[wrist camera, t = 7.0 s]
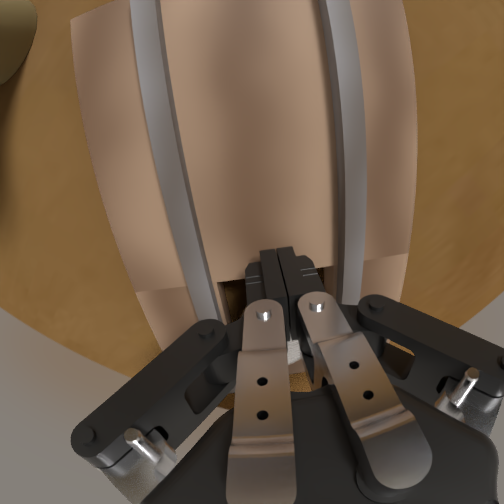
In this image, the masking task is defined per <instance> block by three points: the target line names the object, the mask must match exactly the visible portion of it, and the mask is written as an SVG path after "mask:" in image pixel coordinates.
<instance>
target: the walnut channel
mask: <svg viewBox="0 0 504 504" xmlns="http://www.w3.org/2000/svg"><path fill="white" fill-rule="evenodd" d="M70 21H71V38H72V51H73V61H74V69H75V77H76V84H77V91H78V97H79V103H80V109H81V114H82V120H83V125H84V130H85V134H86V139H87V144H88V148H89V152H90V156H91V160H92V164H93V168H94V172H95V176H96V180H97V183H98V187H99V190H100V194H101V197H102V201H103V204H104V207H105V210H106V214H107V217H108V220H109V223H110V226H111V229H112V232H113V235H114V238H115V241H116V243H117V246H118V249H119V252H120V255H121V257H122V260H123V263H124V265H125V268H126V270H127V273H128V276H129V278H130V281H131V283H132V285H133V288H134V290H135V293H136V295H137V298H138V300H139V302H140V305H141V307H142V309H143V311H144V314H145V316H146V318H147V320H148V322H149V325H150V327H151V329H152V331H153V333H154V335H155V337H156V339H157V342H158V344H159V346H160V348H161V350H162V352H163V351H164V350H165V349H166V348H167V347H168V346H170V345H171V344H172V343H173V342H174V341H175V340H176V339H177V338H179V337H180V336H181V335H182V334H183V333H184V332H185V331H187V330H188V329H189V328H190V327H191V326H192V325H193V324H195V323H196V322H198V321H201V320H204V319H216V320H219V321H221V322H222V323H223V324H224V325H227V324H230V323H232V320H231V316H230V311H229V307H228V303H227V299H226V294H225V290H224V286H223V281H231V280H238V279H245V269H246V267H247V266H248V264H249V263H253V262H260V253H259V251H260V250H267V249H274V248H275V250H276V248H281V247H288V246H292V247H293V250H294V252H295V255H296V256H301V255H306V256H307V257H308V258H310V259H311V260H312V261H313V263H314V265H315V268H321V267H324V288H325V291H326V293H327V294H329V295H331V296H332V297H333V298H334V299H335V301H336V302H337V303H340V304H345V305H358V302H359V301H360V299H361V298H363V297H364V296H367V295H371V294H379V295H383V296H386V297H388V298H390V299H393V300H395V301H397V302H400V297H401V292H402V287H403V282H404V277H405V271H406V266H407V260H408V253H409V247H410V240H411V232H412V224H413V214H414V204H415V191H416V175H417V105H416V89H415V78H414V68H413V59H412V52H411V45H410V38H409V32H408V27H407V21H406V16H405V11H404V7H403V2H402V0H115V1H112V2H110V3H107V4H105V5H102V6H100V7H97V8H95V9H93V10H91V11H88V12H86V13H84V14H82V15H80V16H78V17H75V18H73V19H71V20H70ZM389 342H390V340H389V339H387V343H389ZM288 370H289V374H295V373H301V372H305V369H304V366H303V363H302V360H301V359H300V360H298V361H297V362H295V363H292V364H290V365H288ZM235 390H236V386H235V387H234V388H233V389H232V390H231V391H230V392H229V393H235Z"/></svg>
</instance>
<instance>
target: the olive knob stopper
mask: <svg viewBox="0 0 504 504" xmlns="http://www.w3.org/2000/svg"><path fill="white" fill-rule="evenodd" d="M36 26H37V13H36V9H35V6H34V5H33V4H32V3H31V2H30V1H28V0H0V85H1V84H3V83H5V82H6V81H7V80H8V79H9V78H10V77H11V76H12V75H13V74H14V73H15V72H16V71H17V70H18V68H19V67H20V65H21V64H22V62H23V61H24V60H25V58H26V55H27V53H28V51H29V49H30V47H31V45H32V42H33V39H34V35H35V32H36Z"/></svg>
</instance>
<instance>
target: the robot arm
mask: <svg viewBox="0 0 504 504" xmlns="http://www.w3.org/2000/svg"><path fill="white" fill-rule="evenodd" d="M259 253H260V262H253V263H249V264H248V266H247V267H246V269H245V278H246V279H245V280H246V296H247V308H246V309H245V312H244V315H243V316H242V317H241V318H240V319H238V320H237V321H235V322H232V323H230V324H227V325H224V324H223V323H222V322H221V321H219V320H216V319H204V320H201V321H198V322H196V323H195V324H193V325H192V326H191V327H190V328H189V329H188V330H187V331H185V332H184V333H183V334H182V335H181V336H180V337H179V338H177V339H176V340H175V341H174V342H173V343H172V344H171V345H170V346H168V347H167V348H166V349H165V350H164V351H163V352H162V353H160V354H159V355H158V356H157V357H156V358H155V359H154V360H152V361H151V362H150V363H149V364H148V365H147V366H146V367H144V368H143V369H142V370H141V371H140V372H139V373H137V374H136V375H135V376H134V377H133V378H132V379H131V380H129V381H128V382H127V383H126V384H125V385H124V386H122V387H121V388H120V389H119V390H118V391H117V392H115V394H113V395H112V396H111V397H110V398H109V399H107V400H106V401H105V402H104V403H103V404H101V405H100V406H99V407H98V408H97V409H96V410H94V411H93V412H92V413H91V414H90V415H88V416H87V417H86V418H85V419H84V420H83V421H81V422H80V423H79V424H78V425H77V426H76V427H75V429H74V430H73V432H72V434H71V445H72V448H73V450H74V451H75V452H76V453H77V454H78V455H79V456H81V457H82V458H84V459H85V460H86V461H88V462H89V463H90V464H91V465H92V466H93V467H95V468H96V469H98V470H100V471H101V472H103V473H104V474H105V476H107V478H108V479H109V480H110V481H111V482H112V483H113V485H115V487H116V488H117V489H118V490H119V491H120V492H121V493H122V494H123V495H124V496H125V497H126V498H127V499H128V500H129V501H130V502H131V503H132V504H499V502H498V498H497V474H498V465H499V460H498V453H497V450H496V447H495V445H494V443H493V442H492V440H491V439H490V438H489V436H490V434H491V431H492V429H493V426H494V423H495V420H496V418H497V415H498V412H499V409H500V406H501V402H502V399H503V398H504V348H502V347H499V346H497V345H495V344H493V343H491V342H488V341H486V340H484V339H482V338H480V337H477V336H475V335H473V334H470V333H468V332H466V331H464V330H461V329H459V328H457V327H455V326H452V325H450V324H448V323H446V322H443V321H441V320H439V319H436V318H434V317H432V316H430V315H427V314H425V313H423V312H420V311H418V310H416V309H413V308H411V307H409V306H406V305H404V304H402V303H400V302H397V301H395V300H393V299H390V298H388V297H386V296H383V295H379V294H371V295H367V296H364V297H363V298H361V299H360V301H359V302H358V305H345V304H340V303H337V302H336V301H335V299H334V298H333V297H332V296H331V295H329V294H327V293H326V291H325V288H324V286H323V284H322V282H321V279H320V277H319V275H318V272H317V270H316V268H315V265H314V263H313V261H312V260H311V259H310V258H308V257H307V256H306V255H301V256H296V255H295V252H294V250H293V247H292V246H288V247H281V248H276V250H275V248H274V249H267V250H260V251H259ZM290 334H291V339H292V341H293V340H298V342H299V351H300V357H301V360H302V363H303V366H304V369H305V372H306V375H307V378H308V381H309V384H310V387H311V392H291V391H290V382H289V370H288V358H287V353H288V345H287V341H290ZM387 339H389V340H391V341H393V342H395V343H397V344H399V345H401V346H403V347H405V348H407V349H409V350H411V351H412V352H413V353H414V355H415V356H413V355H411V354H409V353H407V352H405V351H403V350H401V349H399V348H397V347H395V346H393V345H391V344H389V343H387ZM235 386H236V390H235V404H234V408H232V409H231V410H229V411H227V412H226V413H225V414H223V415H222V416H221V417H219V418H218V419H217V420H216V421H215V422H214V423H213V425H212V426H211V427H210V428H209V430H207V432H206V433H205V434H204V435H203V436H202V437H201V439H200V440H199V441H198V442H197V443H196V444H195V445H194V447H193V448H192V449H191V450H190V451H189V452H188V453H187V454H186V455H185V456H184V458H183V459H182V460H181V461H180V462H179V463H178V464H177V465H176V466H175V464H176V461H177V455H176V452H175V449H176V448H177V447H178V446H179V445H180V444H181V443H182V442H183V441H184V440H185V439H186V438H187V437H188V436H189V435H190V434H191V433H192V432H193V431H194V430H195V429H196V428H197V427H198V426H199V425H200V424H201V423H202V421H204V420H205V419H206V417H207V416H208V415H209V414H210V413H211V412H212V411H213V410H214V409H215V408H216V407H217V406H218V404H219V403H220V402H221V401H222V400H223V399H224V398H225V397H226V396H227V395H228V393H229V392H230V391H231V390H232V389H233V388H234V387H235Z"/></svg>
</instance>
